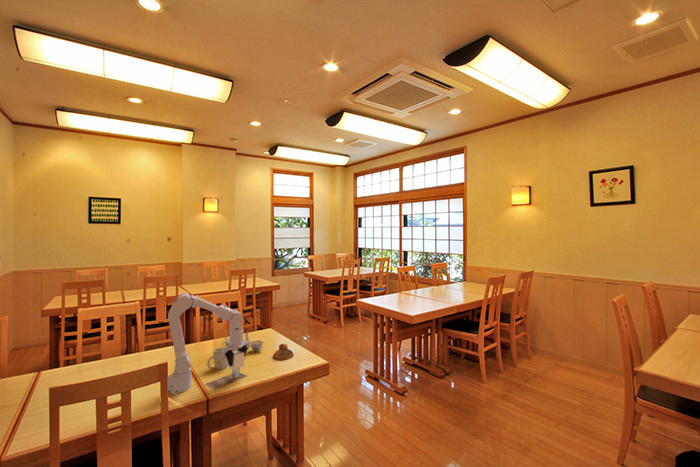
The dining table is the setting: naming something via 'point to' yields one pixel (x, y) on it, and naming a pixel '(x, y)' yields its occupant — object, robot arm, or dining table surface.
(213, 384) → the stand
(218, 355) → the mug
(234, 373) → the post
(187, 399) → the dining table surface
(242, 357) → the tan rectangular block
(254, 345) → the chinaware
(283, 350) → the bell
